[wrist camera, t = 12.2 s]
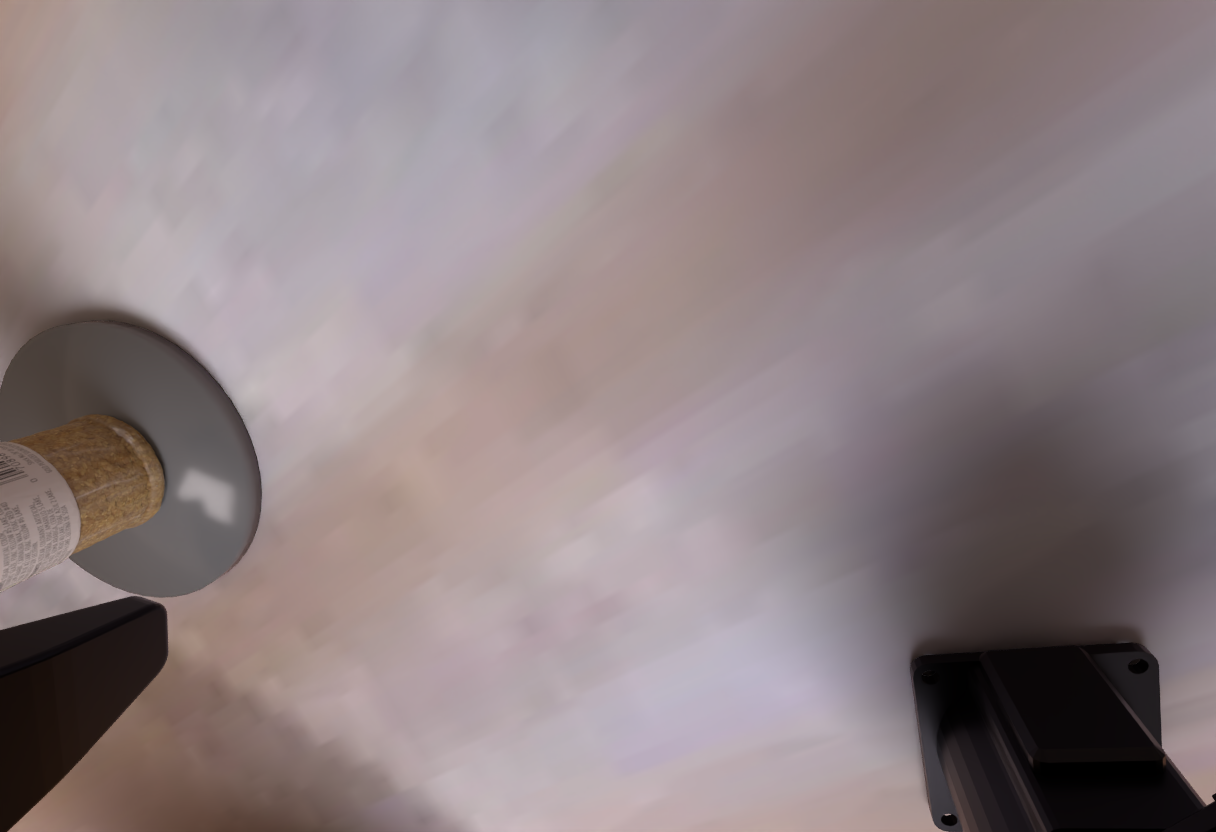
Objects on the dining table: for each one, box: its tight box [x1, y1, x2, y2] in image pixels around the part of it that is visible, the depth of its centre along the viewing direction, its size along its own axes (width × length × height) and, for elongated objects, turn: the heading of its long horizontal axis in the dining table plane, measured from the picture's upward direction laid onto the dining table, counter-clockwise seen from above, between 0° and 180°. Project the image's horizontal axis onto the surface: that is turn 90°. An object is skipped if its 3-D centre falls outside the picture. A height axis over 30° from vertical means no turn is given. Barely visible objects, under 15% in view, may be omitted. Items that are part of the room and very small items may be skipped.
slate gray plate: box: [0, 321, 261, 597], centre depth 25 cm, size 11×11×1 cm
